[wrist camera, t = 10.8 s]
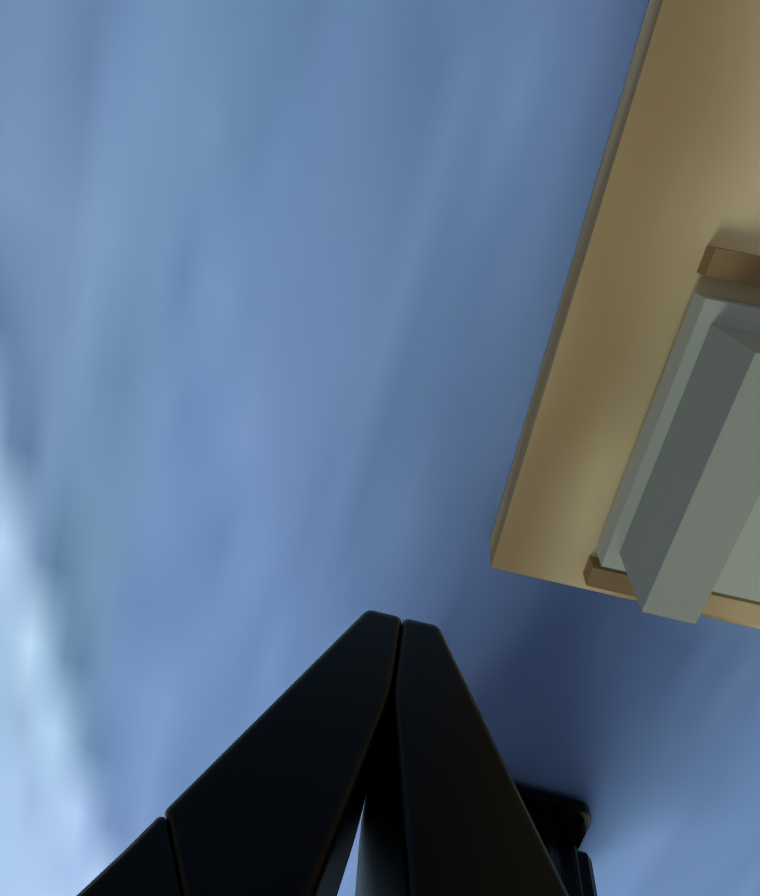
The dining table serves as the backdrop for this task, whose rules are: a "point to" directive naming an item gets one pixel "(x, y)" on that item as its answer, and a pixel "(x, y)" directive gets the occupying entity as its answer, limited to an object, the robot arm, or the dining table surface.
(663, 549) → the slide cover
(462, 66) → the dining table surface
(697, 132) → the puzzle board
